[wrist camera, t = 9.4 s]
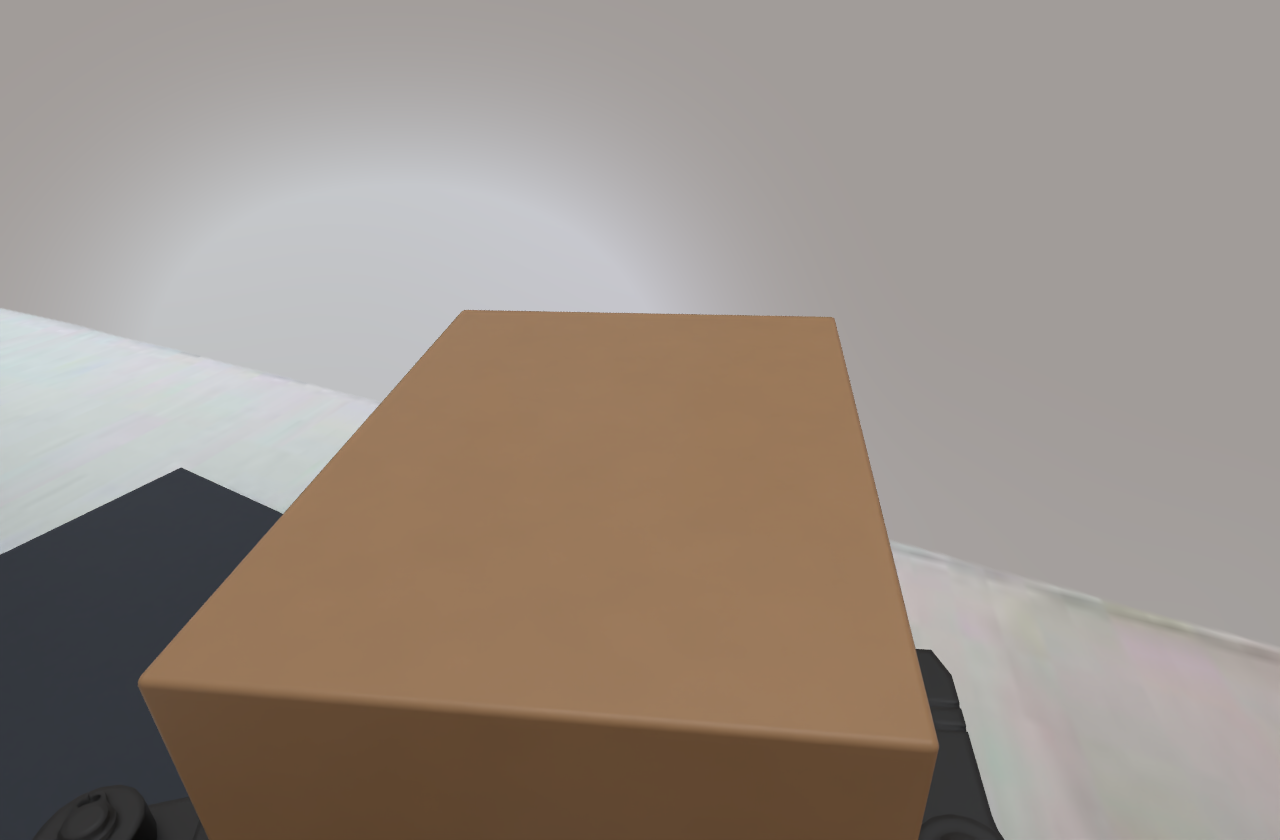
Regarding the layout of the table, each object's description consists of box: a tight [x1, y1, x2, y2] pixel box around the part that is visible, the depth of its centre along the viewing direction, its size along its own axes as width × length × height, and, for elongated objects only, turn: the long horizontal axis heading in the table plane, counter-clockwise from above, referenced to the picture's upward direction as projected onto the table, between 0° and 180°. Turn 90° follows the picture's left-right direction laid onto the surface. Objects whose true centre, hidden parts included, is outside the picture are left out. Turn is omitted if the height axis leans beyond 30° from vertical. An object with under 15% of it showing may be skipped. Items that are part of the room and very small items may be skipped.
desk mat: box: [0, 468, 283, 840], centre depth 23 cm, size 20×14×1 cm
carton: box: [138, 310, 939, 840], centre depth 12 cm, size 6×8×12 cm
